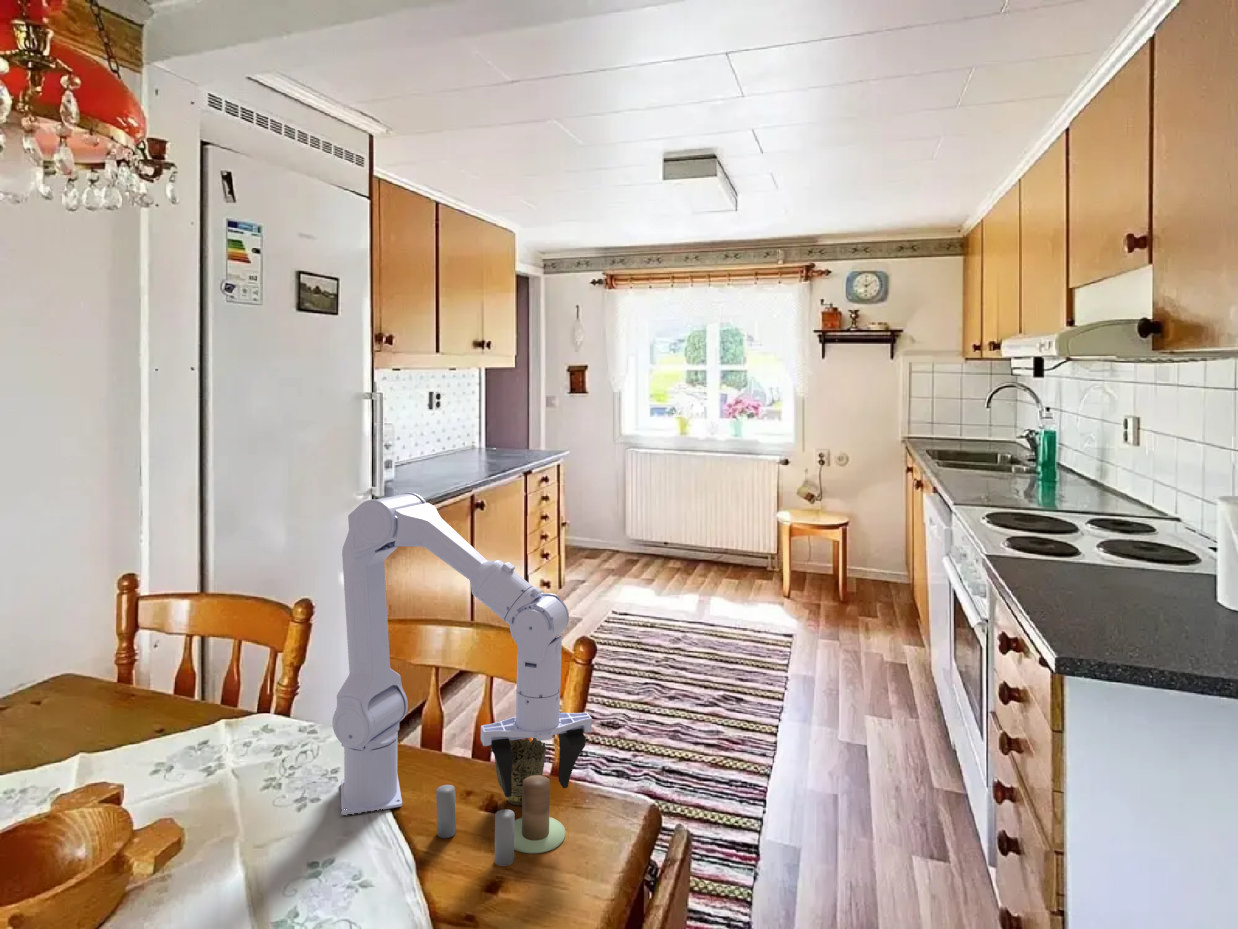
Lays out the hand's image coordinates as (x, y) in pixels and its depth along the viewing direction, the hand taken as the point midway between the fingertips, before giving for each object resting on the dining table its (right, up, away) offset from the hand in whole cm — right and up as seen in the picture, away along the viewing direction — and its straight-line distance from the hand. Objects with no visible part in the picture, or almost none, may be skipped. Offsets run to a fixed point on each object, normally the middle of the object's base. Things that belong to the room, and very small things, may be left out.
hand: (535, 788), depth 98 cm
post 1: (-12, -6, 0) cm, 13 cm away
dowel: (0, -6, 0) cm, 6 cm away
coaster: (0, -6, +1) cm, 6 cm away
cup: (-3, -6, +9) cm, 11 cm away
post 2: (-3, -7, -5) cm, 9 cm away
